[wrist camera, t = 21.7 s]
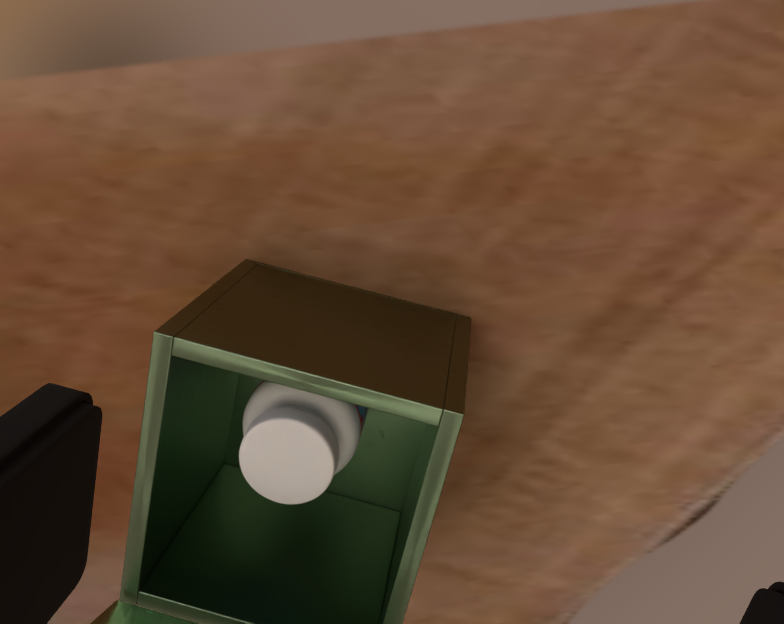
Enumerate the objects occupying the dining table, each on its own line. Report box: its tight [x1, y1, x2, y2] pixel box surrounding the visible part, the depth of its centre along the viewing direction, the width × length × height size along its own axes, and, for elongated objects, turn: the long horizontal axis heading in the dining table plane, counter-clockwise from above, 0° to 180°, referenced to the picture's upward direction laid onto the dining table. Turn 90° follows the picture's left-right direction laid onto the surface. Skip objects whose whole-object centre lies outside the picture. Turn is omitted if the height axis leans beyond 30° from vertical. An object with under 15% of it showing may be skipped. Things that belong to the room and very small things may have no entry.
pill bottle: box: [239, 379, 369, 504], centre depth 40 cm, size 6×6×11 cm
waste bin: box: [119, 259, 471, 624], centre depth 40 cm, size 15×14×13 cm
